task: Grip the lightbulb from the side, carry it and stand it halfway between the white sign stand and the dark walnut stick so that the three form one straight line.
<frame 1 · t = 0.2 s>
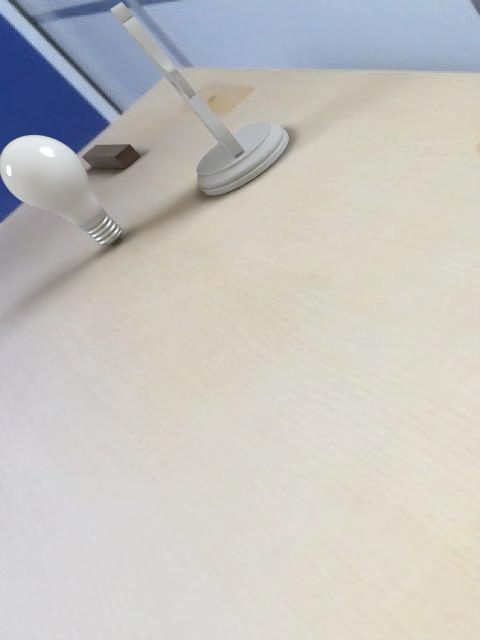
white sign stand: (247, 165, 73), on the table
walnut stick: (116, 161, 90), on the table
lightbulb: (118, 243, 73), on the table
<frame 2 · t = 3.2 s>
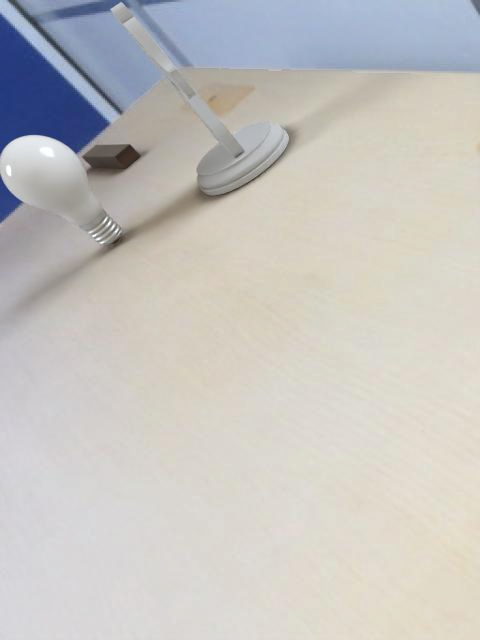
nothing on the table moved.
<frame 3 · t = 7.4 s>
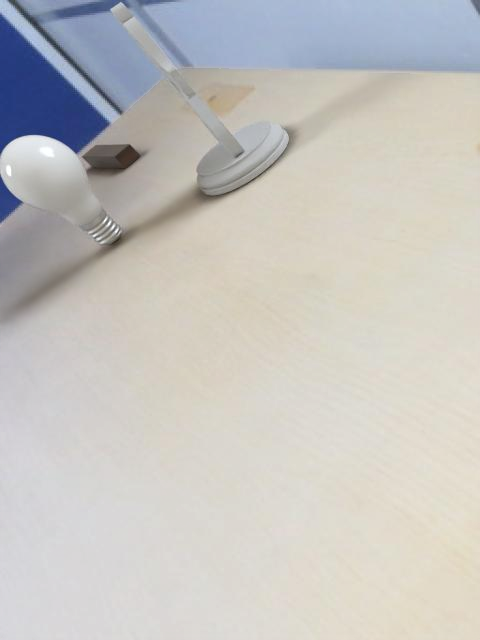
nothing on the table moved.
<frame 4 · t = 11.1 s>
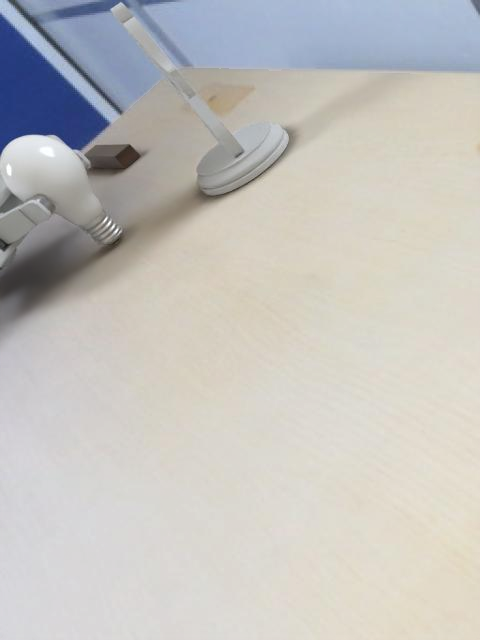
hand: (64, 182, 68), 7 cm above the table, tool horizontal, fingers closed on lightbulb, 6 cm apart
lightbulb: (118, 243, 73), on the table, touching gripper
everything else where it was.
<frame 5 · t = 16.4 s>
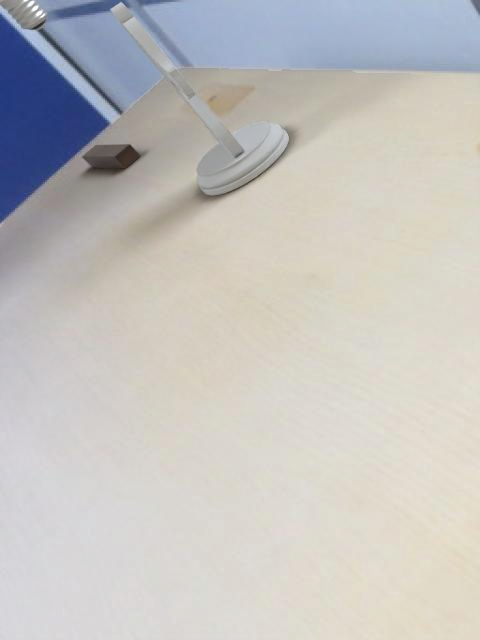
lightbulb: (43, 29, 69), point 15 cm above the table, touching gripper
everything else where it was.
when the fingers open (7 cm above the table, at t = 21.5 s): lightbulb stays where it is, on the table.
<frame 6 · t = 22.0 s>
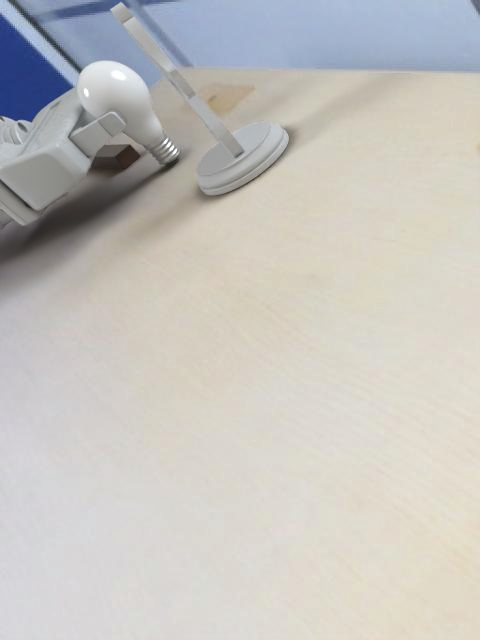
hand: (129, 100, 76), 7 cm above the table, tool horizontal, fingers open, 8 cm apart
lightbulb: (176, 163, 82), on the table
everything else where it was.
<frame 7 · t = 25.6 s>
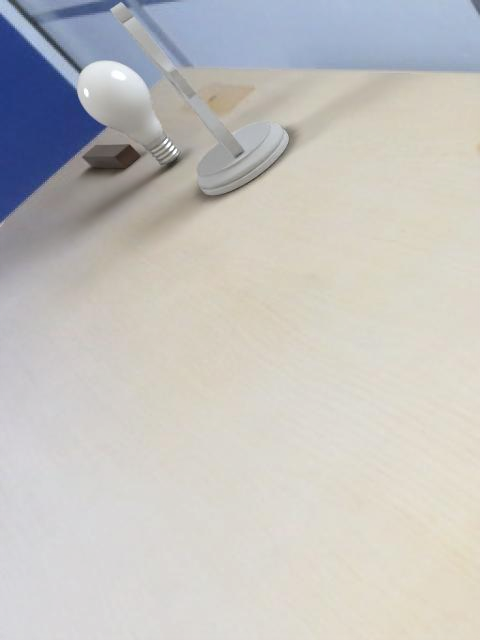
nothing on the table moved.
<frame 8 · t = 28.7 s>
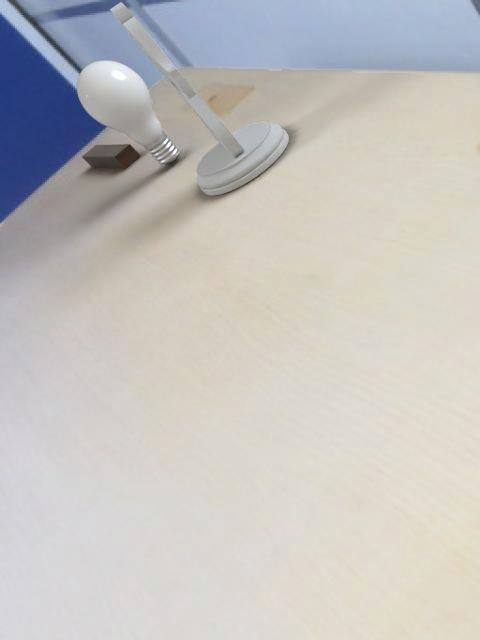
nothing on the table moved.
at the end: lightbulb 0.1 cm from the target spot on the table beside the walnut stick, on the table; lightbulb tilted 0°; the gripper is holding nothing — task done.
